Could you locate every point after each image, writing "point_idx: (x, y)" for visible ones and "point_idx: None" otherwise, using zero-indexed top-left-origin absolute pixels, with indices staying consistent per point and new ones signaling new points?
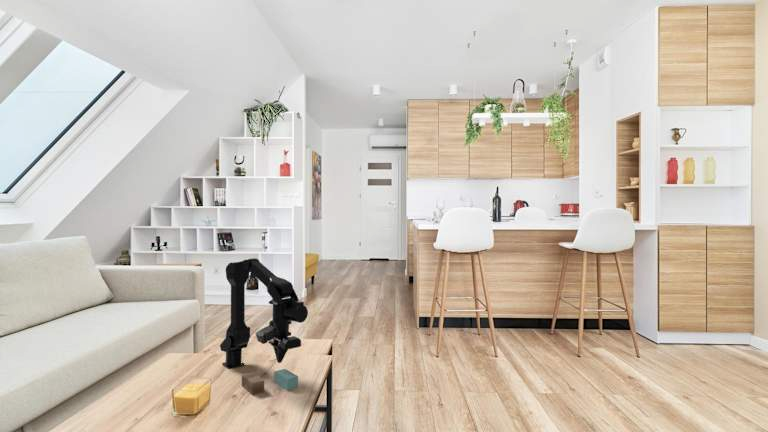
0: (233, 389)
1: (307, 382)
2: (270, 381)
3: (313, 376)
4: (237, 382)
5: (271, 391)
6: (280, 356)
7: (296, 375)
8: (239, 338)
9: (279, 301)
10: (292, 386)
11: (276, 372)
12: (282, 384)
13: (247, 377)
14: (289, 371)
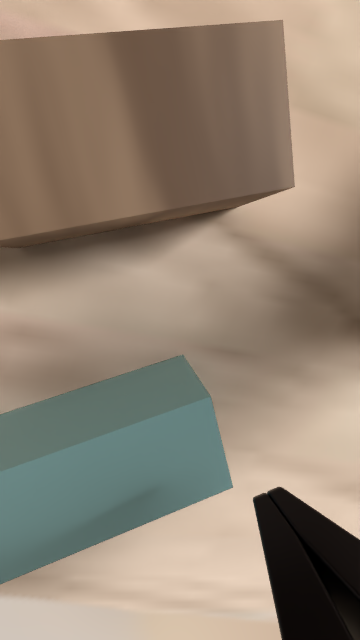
0: (189, 3)
1: (98, 551)
2: (218, 335)
3: (178, 582)
4: (314, 91)
5: (20, 309)
6: (280, 629)
7: (7, 579)
8: None
9: None
10: None
11: (170, 412)
12: (52, 411)
13: (151, 55)
14: (146, 522)
